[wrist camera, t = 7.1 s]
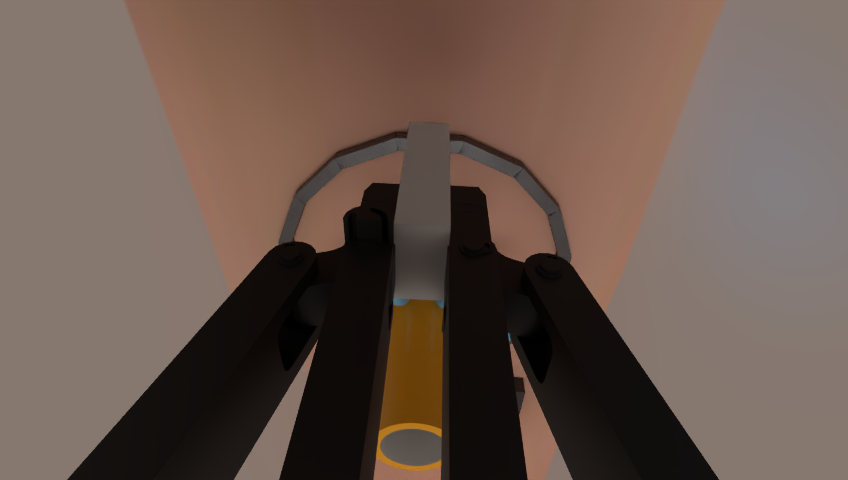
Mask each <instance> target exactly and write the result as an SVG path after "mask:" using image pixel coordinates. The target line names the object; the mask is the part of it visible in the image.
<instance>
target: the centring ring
mask: <svg viewBox="0 0 848 480" xmlns="http://www.w3.org/2000/svg"><path fill="white" fill-rule="evenodd" d="M407 135H408V132H395V133H392V134H389V135H387V136H384V137H381V138H378V139H375V140H372V141H369V142H366V143H363V144H360V145H357V146H354V147H351V148H349V149H346V150H343V151H340V152H337V153H336V154H335V155H334V156H333V157H332V158H331V159H330V160H329V161H327V162H326V163H325V164H324V165H323V166H322V167H321V168H320V169H319V170H318V171H317V172H316V173H315V174H314V175H313V176H312V177H310V178H309V179H308V180H307V181H306V182H305V183H304V184H303V185H302V186H301V187H300V188H299V189H298V190H297V192H296V194H295V195H294V198H293V201H292V204H291V206H290V209H289V212H288V215H287V218H286V221H285V224H284V227H283V230H282V233H281V236H280V239H279V245H280V244H283V243H287V242H293V241H294V235H295V232H296V229H297V226H298V223H299V221H300V218H301V215H302V212H303V209H304V207H305V204H306V202H307V201H308V200H309V199H310V198H311V197H312V196H314V195H315V194H316V193H317V192H318V191H319V190H320V189H321V188H322V187H323V186H325V185H326V184H327V183H328V182H329V181H330V180H331V179H332V178H333V177H334V176H335V175H337V174H338V173H339V172H340V171H341V170H342V169H344V168H347V167H350V166H353V165H356V164H359V163H362V162H365V161H368V160H371V159H374V158H377V157H380V156H384V155H387V154H390V153H393V152H396V151H405V148H406V142H407ZM450 153H456V154H462V155H464V156H467V157H469V158H471V159H473V160H476V161H478V162H480V163H482V164H485V165H487V166H489V167H491V168H493V169H496V170H498V171H500V172H502V173H505V174H507V175H509V176H511V177H514V178H515V179H516V180H517V181H518V182H519V184H520V185H521V186H522V187H523V188H524V189H525V190H526V191H527V192H528V194H529V195H530V196H531V197H532V198H533V199H534V200H535V201H536V202H537V203H538V205H539V206H540V207H541V208H542V209H543V210H544V211H545V212H546V213H547V214H548V218H549V221H550V225H551V229H552V233H553V237H554V241H555V245H556V249H557V252H556V255H557V256H559V257H561V258H563V259H565V260H567V261H568V262H569V263H570V261H571V253H570V249H569V244H568V240H567V236H566V232H565V228H564V223H563V219H562V215H561V211H560V208H559V205H558V203H557V202H556V201H555V199H554V198H553V197H552V196H551V195H550V194H549V193H548V191H547V190H546V189H545V188H544V187H543V186H542V185H541V183H540V182H539V181H538V180H537V179H536V178H535V177H534V175H533V174H532V173H531V172H530V171H529V170H528V169H527V167H526V166H525V165H524V164H523V163H522V162H521V161H519V160H517V159H515V158H512V157H510V156H508V155H506V154H504V153H501V152H499V151H497V150H495V149H493V148H490V147H488V146H486V145H484V144H482V143H479V142H477V141H475V140H473V139H471V138H468V137H466V136H463V135H450ZM511 343H512V341H511V340H510V341H509V344H511Z"/></svg>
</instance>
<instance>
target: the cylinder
mask: <svg viewBox="0 0 848 480" xmlns="http://www.w3.org/2000/svg"><path fill="white" fill-rule="evenodd" d="M443 308H444V301H437V300H419V299H400V298H394V299H393V320H392V328H391V336H390V345H389V353H388V361H387V370H386V378H385V386H384V395H383V403H382V411H381V420H380V428H379V436H378V445H377V453H376V457H377V458H378V459H379V460H380V461H382V462H384V463H385V464H387V465H390V466H392V467H395V468H399V469H404V470H413V471H422V470H431V469H435V468H439V467H441V441H442V357H443V332H441V331H442V320H443ZM508 337H509V341H510V340H511V339H510V334H509V333H508Z"/></svg>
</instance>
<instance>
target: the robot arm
mask: <svg viewBox="0 0 848 480" xmlns="http://www.w3.org/2000/svg"><path fill="white" fill-rule="evenodd" d="M343 222H344V234H345V245H344V246H342V247H340V248H338V249H335V250H331V251H327V252H321V253H316V251H315V249H314V248H313V247H312V246H311V245H309V244H307V243H304V242H295V241H293V242H287V243H283V244H280V245H278V246H275V247H274V248H273V249H271V250H270V251H269V252H268V253H267V254H266V255H265V256H264V258H263V259H262V260H261V261H260V262H259V263H258V264H257V265H256V267H255V268H254V269H253V270H252V271H251V272H250V273H249V275H248V276H247V277H246V278H245V279H244V280H243V281H242V282H241V284H240V285H239V286H238V287H237V288H236V289H235V290H234V292H233V293H232V294H231V295H230V296H229V297H228V298H227V300H226V301H225V302H224V303H223V304H222V305H221V306H220V307H219V308H218V310H217V311H216V312H215V313H214V314H213V315H212V316H211V318H210V319H209V320H208V321H207V322H206V323H205V324H204V326H203V327H202V328H201V329H200V330H199V331H198V332H197V333H196V335H195V336H194V337H193V338H192V339H191V340H190V342H188V344H187V345H186V346H185V347H184V348H183V349H182V350H181V351H180V353H179V354H178V355H177V356H176V357H175V358H174V359H173V361H172V362H171V363H170V364H169V365H168V366H167V367H166V368H165V370H164V371H163V372H162V373H161V374H160V375H159V376H158V378H157V379H156V380H155V381H154V382H153V383H152V384H151V385H150V387H149V388H148V389H147V390H146V391H145V392H144V393H143V395H142V396H141V397H140V398H139V399H138V400H137V401H136V402H135V404H134V405H133V406H132V407H131V408H130V409H129V410H128V411H127V413H126V414H125V415H124V416H123V417H122V418H121V420H120V421H119V422H118V423H117V424H116V425H115V426H114V427H113V428H112V430H111V431H110V432H109V433H108V434H107V435H106V436H105V438H104V439H103V440H102V441H101V442H100V443H99V444H98V445H97V447H96V448H95V449H94V450H93V451H92V452H91V453H90V454H89V456H88V457H87V458H86V459H85V460H84V461H83V462H82V464H81V465H80V466H79V467H78V468H77V469H76V470H75V471H74V473H73V474H72V475H71V476H70V477H69V478H68V480H234V478H235V477H236V475H237V473H238V471H239V470H240V468H241V467H242V465H243V463H244V462H245V460H246V458H247V457H248V455H249V453H250V452H251V450H252V448H253V447H254V445H255V443H256V442H257V440H258V438H259V437H260V435H261V433H262V432H263V430H264V428H265V427H266V425H267V423H268V422H269V420H270V418H271V417H272V415H273V413H274V412H275V410H276V408H277V407H278V405H279V403H280V402H281V400H282V398H283V397H284V395H285V393H286V392H287V390H288V388H289V387H290V385H291V384H292V382H293V380H294V379H295V377H296V375H297V374H298V372H299V370H300V369H301V367H302V365H303V364H304V362H305V360H306V359H307V357H308V355H309V354H310V352H311V350H312V349H313V347H314V345H315V344H316V342H317V340H318V342H317V346H316V349H315V353H314V356H313V360H312V364H311V367H310V371H309V374H308V378H307V382H306V385H305V389H304V393H303V396H302V400H301V403H300V407H299V410H298V414H297V418H296V421H295V425H294V429H293V432H292V436H291V439H290V443H289V446H288V450H287V454H286V457H285V461H284V465H283V468H282V471H281V475H280V479H279V480H373V478H374V470H375V461H376V453H377V445H378V436H379V428H380V420H381V411H382V403H383V395H384V386H385V378H386V370H387V361H388V353H389V345H390V336H391V328H392V320H393V299H394V298H400V299H419V300H437V301H444V308H443V320H442V331H441V332H443V357H442V441H441V480H528V479H527V472H526V464H525V457H524V449H523V442H522V434H521V427H520V419H519V412H518V404H517V397H516V389H515V382H514V374H513V367H512V359H511V352H510V344H509V337H508V333H509V334H510V339H511V341H512V344H513V346H514V348H515V350H516V353H517V355H518V357H519V359H520V362H521V364H522V366H523V368H524V371H525V373H526V375H527V377H528V380H529V382H530V384H531V386H532V389H533V391H534V393H535V395H536V398H537V400H538V402H539V404H540V407H541V409H542V411H543V413H544V416H545V418H546V420H547V423H548V425H549V427H550V429H551V432H552V434H553V436H554V438H555V441H556V443H557V445H558V447H559V450H560V452H561V454H562V456H563V458H564V461H565V463H566V465H567V468H568V470H569V472H570V474H571V477H572V479H573V480H719V479H718V477H717V476H716V474H715V473H714V472H713V470H712V469H711V467H710V466H709V464H708V463H707V461H706V460H705V459H704V457H703V456H702V454H701V453H700V451H699V450H698V448H697V447H696V445H695V444H694V442H693V441H692V440H691V438H690V437H689V435H688V434H687V432H686V431H685V429H684V428H683V427H682V425H681V424H680V422H679V421H678V419H677V418H676V416H675V415H674V413H673V412H672V410H671V409H670V407H669V406H668V405H667V403H666V402H665V400H664V399H663V397H662V396H661V394H660V393H659V392H658V390H657V389H656V387H655V386H654V384H653V383H652V381H651V380H650V378H649V377H648V375H647V374H646V373H645V371H644V370H643V368H642V367H641V365H640V364H639V363H638V361H637V359H636V358H635V357H634V355H633V354H632V352H631V351H630V349H629V348H628V346H627V345H626V343H625V342H624V340H623V339H622V338H621V336H620V335H619V333H618V332H617V331H616V329H615V328H614V326H613V324H612V323H611V322H610V320H609V319H608V317H607V316H606V314H605V313H604V311H603V310H602V308H601V307H600V306H599V304H598V303H597V301H596V300H595V298H594V297H593V295H592V294H591V292H590V291H589V290H588V288H587V287H586V285H585V284H584V282H583V281H582V279H581V278H580V276H579V275H578V273H577V272H576V271H575V269H574V268H573V266H572V265H571V264H570V263H569V262H568V261H567V260H565V259H563V258H561V257H559V256H557V255H553V254H549V253H538V254H534V255H531V256H530V257H529V258H527V259H526V261H525V263H524V262H520V261H516V260H513V259H510V258H508V257H505V256H504V255H502V254H500V253H499V252H498V251H497V249H496V247H495V244H494V243H493V242H492V241H491V234H490V226H489V218H488V210H487V202H486V195H485V194H484V193H483V192H482V191H481V190H480V188H479V187H467V186H450V124H441V123H420V122H409V129H408V135H407V142H406V148H405V155H404V161H403V167H402V174H401V180H400V184H386V183H372V184H371V185H370V186H369V187H368V188H367V189H366V190H365V191H364V195H363V198H362V202H361V206H359V207H355V208H353V209H351V210H349V211H348V212H346V214H345V215H344V217H343Z"/></svg>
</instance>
